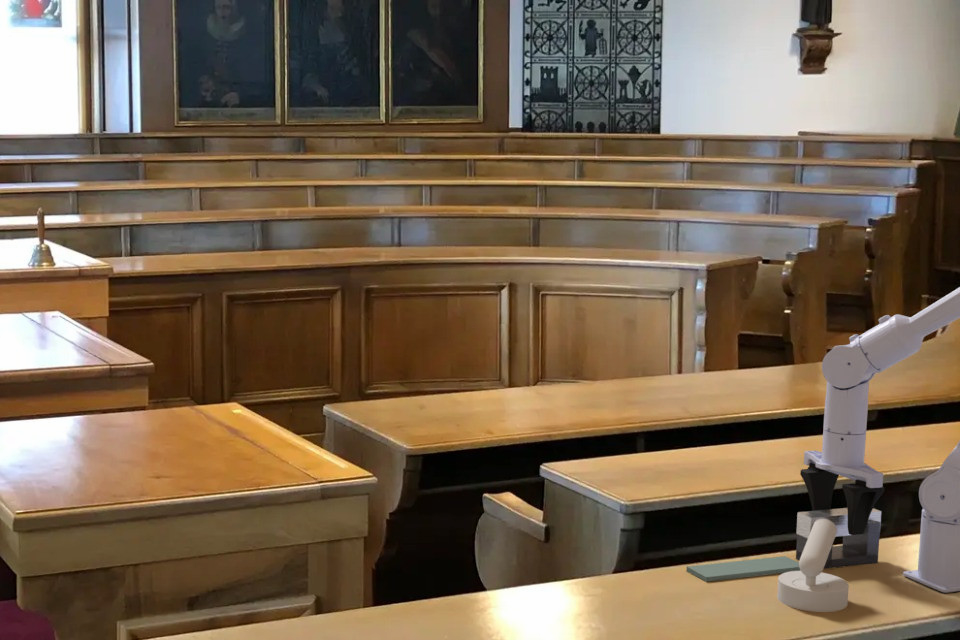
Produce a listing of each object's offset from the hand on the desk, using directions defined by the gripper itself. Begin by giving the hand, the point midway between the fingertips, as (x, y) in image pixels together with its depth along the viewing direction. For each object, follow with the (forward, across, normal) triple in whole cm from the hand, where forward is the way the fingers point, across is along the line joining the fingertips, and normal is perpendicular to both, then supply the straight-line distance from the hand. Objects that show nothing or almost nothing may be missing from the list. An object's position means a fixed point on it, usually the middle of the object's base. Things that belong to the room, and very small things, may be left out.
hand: (838, 526), depth 178 cm
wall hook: (+5, +13, -14) cm, 19 cm away
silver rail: (+1, 0, 0) cm, 1 cm away
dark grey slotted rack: (+5, 0, 0) cm, 5 cm away
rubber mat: (+5, 0, -15) cm, 16 cm away
